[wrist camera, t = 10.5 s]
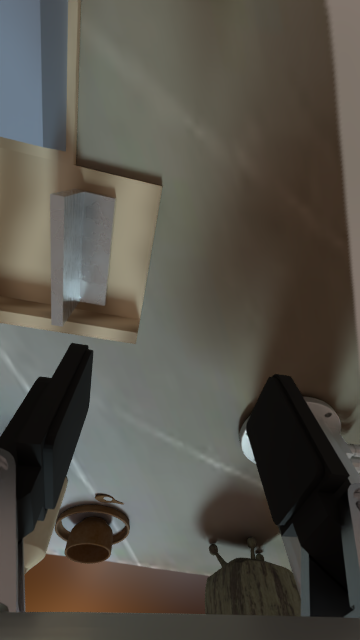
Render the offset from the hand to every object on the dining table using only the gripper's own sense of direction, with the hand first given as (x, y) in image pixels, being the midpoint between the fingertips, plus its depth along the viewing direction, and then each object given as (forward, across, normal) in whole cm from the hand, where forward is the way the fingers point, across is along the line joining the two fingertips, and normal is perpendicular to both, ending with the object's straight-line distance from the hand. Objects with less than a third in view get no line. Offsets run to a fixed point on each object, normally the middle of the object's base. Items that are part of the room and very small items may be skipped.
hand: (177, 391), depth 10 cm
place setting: (+17, +8, +44) cm, 48 cm away
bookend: (+15, +8, 0) cm, 17 cm away
